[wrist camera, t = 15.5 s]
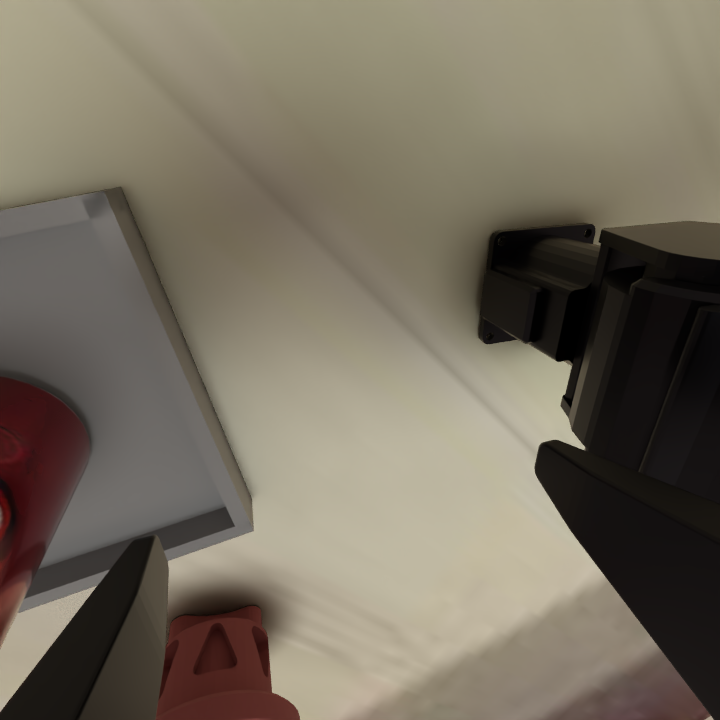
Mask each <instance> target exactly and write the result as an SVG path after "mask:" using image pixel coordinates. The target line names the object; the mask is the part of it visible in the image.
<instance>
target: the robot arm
mask: <svg viewBox="0 0 720 720" xmlns="http://www.w3.org/2000/svg"><path fill="white" fill-rule="evenodd" d="M585 231H586V234H585V235H584V233H585ZM594 236H595V226H594V225H592V224H587V223H580V224H568V225H556V226H545V227H533V228H521V229H509V230H499V231H496V232H494V233H493V234H492V236H491V238H490V243H489V251H488V260H487V269H486V273H485V275H484V284H483V293H482V302H481V311H480V315H481V322H480V330H479V338H480V340H481V341H482V342H484V343H485V344H493V343H499V342H506V341H512V340H519V341H521V342H523V343H525V344H529V345H531V346H533V347H534V348H536V349H538V350H539V351H541V352H542V353H544V354H546V355H547V356H549V357H551V358H552V359H554V360H555V361H557V362H561V361H564V362H566V363H568V364H569V365H571V366H572V369H571V373H570V377H569V381H568V385H567V390H566V394H565V395H563V397H562V401H561V407H562V409H563V410H564V412H565V413H566V415H567V416H568V418H569V421H570V425H571V429H572V431H573V432H574V434H575V435H576V436H577V438H578V439H579V440H580V441H581V443H582V444H583V445H584V446H585V450H582V449H579V448H577V447H574V446H572V445H569V444H566V443H564V442H561V441H559V440H551V441H547V442H543V443H541V444H540V446H539V449H538V453H537V458H536V463H535V474H536V476H537V478H538V480H539V481H540V483H541V485H542V486H543V488H544V489H545V491H546V493H547V494H548V496H549V497H550V499H551V501H552V502H553V504H554V505H555V507H556V509H557V510H558V512H559V513H560V515H561V517H562V518H563V520H564V521H565V523H566V524H567V526H568V527H569V529H570V530H571V532H572V533H573V535H574V536H575V537H576V539H577V540H578V541H579V543H580V544H581V545H582V547H583V548H584V549H585V551H586V552H587V553H588V554H589V556H590V557H591V558H592V560H593V561H594V562H595V564H596V565H597V566H598V568H599V569H600V570H601V572H602V573H603V574H604V576H605V577H606V578H607V579H608V581H609V582H610V583H611V585H612V586H613V587H614V589H615V590H616V591H617V593H618V594H619V595H620V597H621V598H622V599H623V601H624V602H625V603H626V604H627V606H628V607H629V608H630V610H631V611H632V612H633V614H634V615H635V616H636V618H637V619H638V620H639V622H640V623H641V624H642V626H643V627H644V628H645V629H646V631H647V632H648V633H649V635H650V636H651V637H652V639H653V640H654V641H655V643H656V644H657V645H658V647H659V648H660V649H661V651H662V652H663V653H664V654H665V656H666V657H667V658H668V660H669V661H670V662H671V664H672V665H673V666H674V668H675V669H676V670H677V672H678V673H679V674H680V676H681V677H682V678H683V679H684V681H685V682H686V683H687V685H688V686H689V687H690V689H691V690H692V691H693V693H694V694H695V695H696V697H697V698H698V699H699V701H700V702H701V703H702V704H703V706H704V707H705V708H706V710H707V711H708V712H709V714H710V715H711V716H712V718H713V719H714V720H720V224H719V223H707V222H695V221H682V222H671V223H659V224H648V225H637V226H626V227H615V228H604V229H602V230H601V234H600V239H599V243H601V246H598V245H594V244H593V240H594ZM500 237H502V241H501V243H500V244H498V240H499V238H500ZM488 333H490V335H489V336H488V337H487V338H486V336H487V334H488ZM168 576H169V569H168V561H167V558H166V556H165V553H164V550H163V548H162V545H161V542H160V539H159V537H158V536H157V535H155V534H152V535H148V536H143V537H139V538H136V539H134V540H133V541H132V542H131V543H130V544H129V545H128V547H127V548H126V549H125V551H124V552H123V553H122V555H121V556H120V557H119V558H118V560H117V561H116V562H115V564H114V565H113V566H112V568H111V569H110V570H109V571H108V573H107V574H106V575H105V577H104V578H103V579H102V581H101V582H100V583H99V584H98V586H97V587H96V588H95V590H94V591H93V592H92V594H91V595H90V596H89V597H88V599H87V600H86V601H85V603H84V604H83V605H82V607H81V608H80V609H79V610H78V612H77V613H76V614H75V616H74V617H73V618H72V620H71V621H70V622H69V623H68V625H67V626H66V627H65V629H64V630H63V631H62V633H61V634H60V635H59V636H58V638H57V639H56V640H55V642H54V643H53V644H52V646H51V647H50V648H49V649H48V651H47V652H46V653H45V655H44V656H43V657H42V659H41V660H40V661H39V662H38V664H37V665H36V666H35V668H34V669H33V670H32V672H31V673H30V674H29V675H28V677H27V678H26V679H25V681H24V682H23V683H22V685H21V686H20V687H19V688H18V690H17V691H16V692H15V694H14V695H13V696H12V698H11V699H10V700H9V701H8V703H7V704H6V705H5V707H4V708H3V709H2V711H1V712H0V720H155V719H156V713H157V706H158V699H159V693H160V686H161V679H162V673H163V666H164V658H165V646H166V625H167V601H168Z"/></svg>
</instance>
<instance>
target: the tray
mask: <svg viewBox="0 0 720 720" xmlns="http://www.w3.org/2000/svg"><path fill="white" fill-rule="evenodd" d="M0 376H3V377H10V378H13V379H17V380H20V381H24V382H27V383H30V384H33V385H35V386H37V387H39V388H41V389H44V390H46V391H48V392H49V393H51V394H53V395H54V396H56V397H57V398H59V399H60V400H62V401H63V402H64V403H65V404H66V405H67V406H69V407H70V408H71V409H72V410H73V411H74V412H75V413H76V415H77V416H78V418H79V419H80V420H81V422H82V423H83V425H84V427H85V430H86V432H87V434H88V437H89V443H90V456H89V463H88V465H87V468H86V470H85V472H84V474H83V476H82V479H81V481H80V483H79V485H78V487H77V489H76V491H75V493H74V495H73V497H72V500H71V502H70V504H69V506H68V508H67V510H66V512H65V514H64V516H63V518H62V521H61V523H60V525H59V527H58V529H57V531H56V533H55V535H54V537H53V539H52V542H51V544H50V546H49V548H48V550H47V552H46V554H45V556H44V558H43V560H42V563H41V565H40V567H39V569H38V571H37V573H36V575H35V577H34V579H33V581H32V584H31V586H30V588H29V590H28V592H27V594H26V596H25V598H24V600H23V602H22V605H21V607H20V609H19V611H18V613H20V612H23V611H25V610H28V609H31V608H34V607H37V606H40V605H43V604H46V603H48V602H51V601H54V600H57V599H60V598H63V597H66V596H68V595H71V594H74V593H77V592H80V591H83V590H86V589H89V588H91V587H94V586H97V585H98V584H99V583H100V582H101V581H102V579H103V578H104V577H105V575H106V574H107V573H108V571H109V570H110V569H111V568H112V566H113V565H114V564H115V562H116V561H117V560H118V558H119V557H120V556H121V555H122V553H123V552H124V551H125V549H126V548H127V547H128V545H129V544H130V543H131V542H132V541H133V540H134V539H136V538H139V537H143V536H148V535H152V534H155V535H157V536H158V537H159V539H160V542H161V545H162V548H163V550H164V553H165V556H166V558H167V561H169V560H172V559H175V558H177V557H180V556H183V555H186V554H189V553H192V552H195V551H198V550H200V549H203V548H206V547H209V546H212V545H215V544H218V543H221V542H223V541H226V540H229V539H232V538H235V537H238V536H241V535H243V534H246V533H249V532H252V531H254V526H253V510H252V498H251V496H250V493H249V491H248V489H247V486H246V484H245V481H244V479H243V477H242V474H241V472H240V470H239V467H238V465H237V462H236V460H235V458H234V455H233V453H232V450H231V448H230V446H229V443H228V441H227V439H226V436H225V434H224V431H223V429H222V427H221V424H220V422H219V420H218V417H217V415H216V412H215V410H214V408H213V405H212V403H211V401H210V398H209V396H208V393H207V391H206V389H205V386H204V384H203V382H202V379H201V377H200V374H199V372H198V370H197V367H196V365H195V362H194V360H193V358H192V355H191V353H190V351H189V348H188V346H187V343H186V341H185V339H184V336H183V334H182V332H181V329H180V327H179V324H178V322H177V320H176V317H175V315H174V313H173V310H172V308H171V305H170V303H169V301H168V298H167V296H166V294H165V291H164V289H163V286H162V284H161V282H160V279H159V277H158V274H157V272H156V270H155V267H154V265H153V263H152V260H151V258H150V255H149V253H148V251H147V248H146V246H145V244H144V241H143V239H142V236H141V234H140V232H139V229H138V227H137V225H136V222H135V220H134V217H133V215H132V213H131V210H130V208H129V206H128V203H127V201H126V198H125V196H124V194H123V191H122V189H121V187H118V188H113V189H108V190H102V191H97V192H92V193H87V194H81V195H76V196H71V197H66V198H60V199H55V200H50V201H45V202H39V203H34V204H29V205H24V206H18V207H13V208H8V209H3V210H0Z"/></svg>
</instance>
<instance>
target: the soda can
mask: <svg viewBox="0 0 720 720" xmlns="http://www.w3.org/2000/svg"><path fill="white" fill-rule="evenodd" d="M89 456H90V443H89V437H88V434H87V432H86V430H85V427H84V425H83V423H82V422H81V420H80V419H79V418H78V416H77V415H76V413H75V412H74V411H73V410H72V409H71V408H70V407H69V406H67V405H66V404H65V403H64V402H63V401H62V400H60V399H59V398H57V397H56V396H54V395H53V394H51V393H49V392H48V391H46V390H44V389H41V388H39V387H37V386H35V385H33V384H30V383H27V382H24V381H20V380H17V379H13V378H10V377H3V376H0V649H1V647H2V644H3V642H4V640H5V638H6V636H7V634H8V632H9V630H10V628H11V626H12V623H13V621H14V619H15V617H16V615H17V613H18V611H19V609H20V607H21V605H22V602H23V600H24V598H25V596H26V594H27V592H28V590H29V588H30V586H31V584H32V581H33V579H34V577H35V575H36V573H37V571H38V569H39V567H40V565H41V563H42V560H43V558H44V556H45V554H46V552H47V550H48V548H49V546H50V544H51V542H52V539H53V537H54V535H55V533H56V531H57V529H58V527H59V525H60V523H61V521H62V518H63V516H64V514H65V512H66V510H67V508H68V506H69V504H70V502H71V500H72V497H73V495H74V493H75V491H76V489H77V487H78V485H79V483H80V481H81V479H82V476H83V474H84V472H85V470H86V468H87V465H88V463H89Z"/></svg>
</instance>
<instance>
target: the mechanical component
mask: <svg viewBox="0 0 720 720" xmlns="http://www.w3.org/2000/svg"><path fill="white" fill-rule="evenodd" d="M155 720H300V716H299V713H298V710H297V709H296V708H295V706H294V705H293V704H292V703H290V702H289V701H288V700H286V699H285V698H283V697H281V696H279V695H277V694H274V693H272V687H271V674H270V661H269V647H268V637H267V633H266V631H265V630H264V628H263V627H262V619H261V610H260V608H258V607H256V606H247V607H244V608H241V609H239V610H236V611H232V612H228V613H224V614H218V615H210V616H192V615H183V616H180V617H178V618H176V619H175V620H173V621H172V623H171V624H170V632H169V639H168V643H167V645H166V646H165V658H164V666H163V673H162V679H161V686H160V693H159V699H158V706H157V713H156V719H155Z"/></svg>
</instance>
